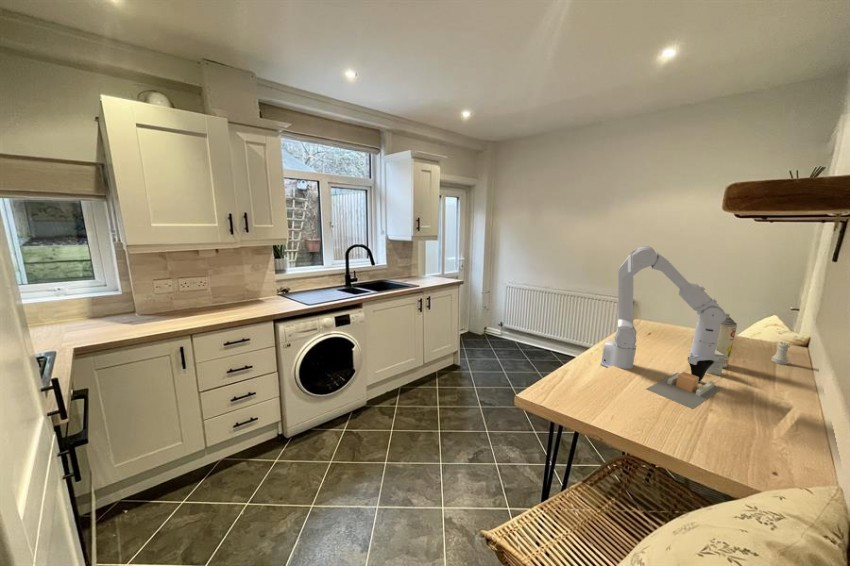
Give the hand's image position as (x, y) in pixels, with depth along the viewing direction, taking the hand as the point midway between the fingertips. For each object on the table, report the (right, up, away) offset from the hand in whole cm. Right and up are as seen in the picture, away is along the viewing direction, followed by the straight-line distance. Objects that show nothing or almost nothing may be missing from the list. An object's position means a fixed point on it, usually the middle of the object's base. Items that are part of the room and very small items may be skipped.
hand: (696, 379), depth 103 cm
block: (-6, -1, -4) cm, 8 cm away
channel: (-7, -3, -4) cm, 8 cm away
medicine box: (+12, -1, +10) cm, 15 cm away
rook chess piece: (+49, 0, +20) cm, 53 cm away
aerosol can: (+21, +1, +17) cm, 27 cm away
